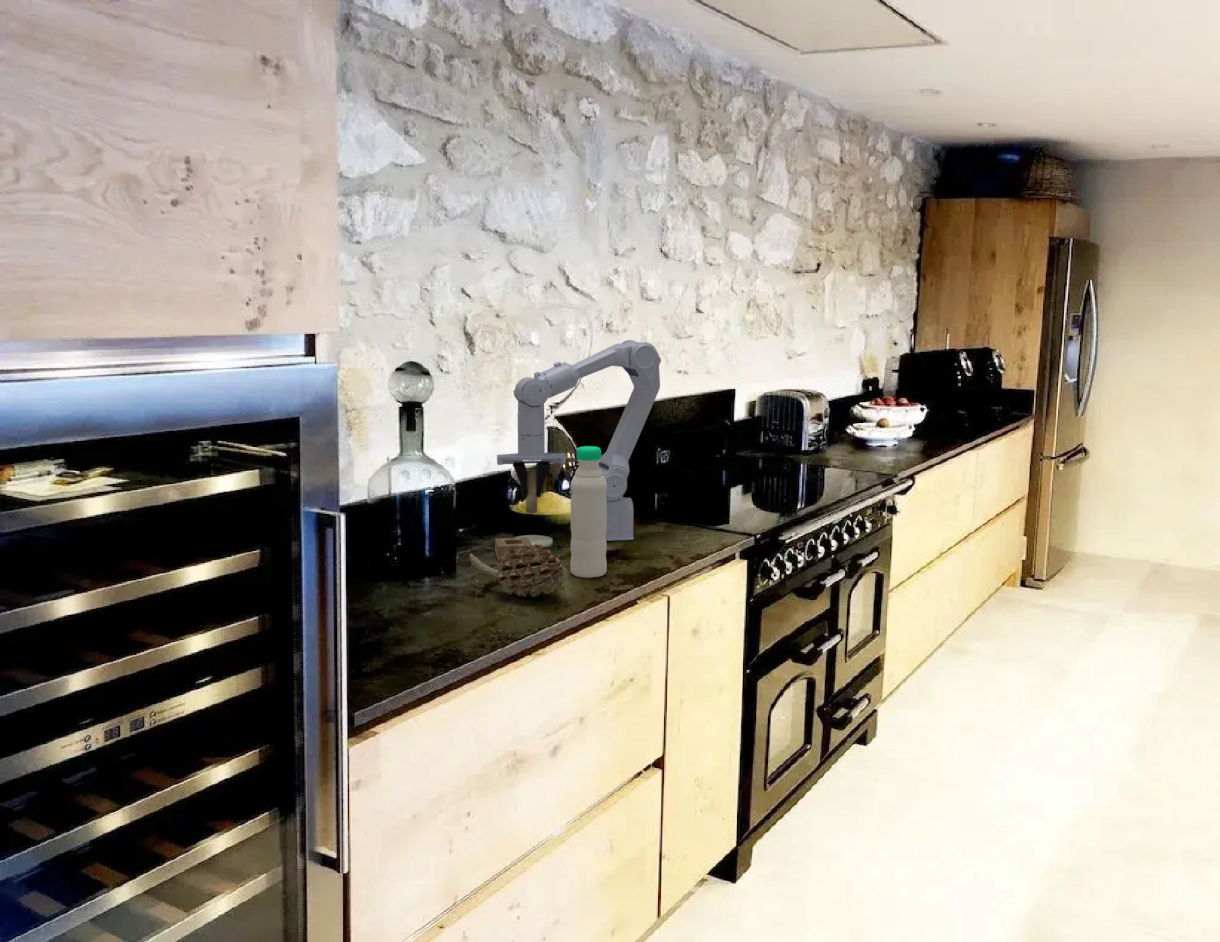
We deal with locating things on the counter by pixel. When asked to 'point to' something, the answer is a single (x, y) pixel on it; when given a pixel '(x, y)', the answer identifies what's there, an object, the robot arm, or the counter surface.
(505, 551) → the holder
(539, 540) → the coaster
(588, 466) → the water bottle
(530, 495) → the pin
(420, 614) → the counter surface
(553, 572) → the pine cone
